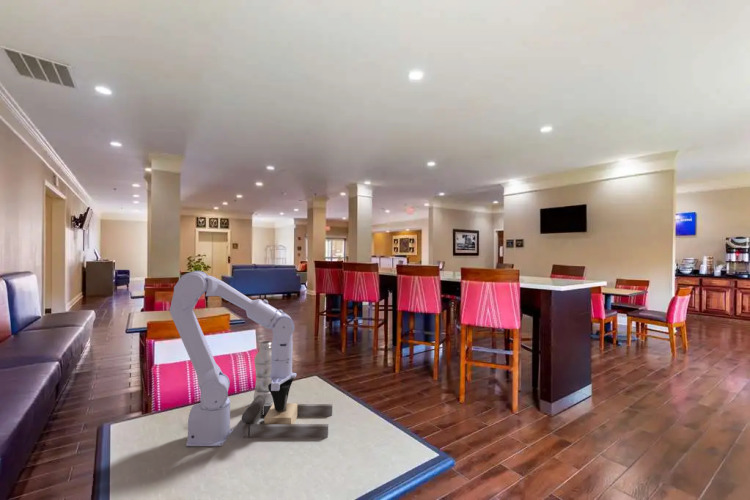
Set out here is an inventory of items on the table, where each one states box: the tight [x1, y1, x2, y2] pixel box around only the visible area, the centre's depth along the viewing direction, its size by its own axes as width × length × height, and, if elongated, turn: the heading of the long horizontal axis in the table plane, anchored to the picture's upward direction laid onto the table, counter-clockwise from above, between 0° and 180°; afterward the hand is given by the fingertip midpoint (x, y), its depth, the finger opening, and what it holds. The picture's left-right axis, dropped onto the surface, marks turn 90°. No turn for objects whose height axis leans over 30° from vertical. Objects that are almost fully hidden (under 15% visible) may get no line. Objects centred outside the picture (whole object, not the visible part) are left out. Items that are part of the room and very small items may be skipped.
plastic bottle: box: [253, 340, 274, 406], centre depth 112 cm, size 6×7×20 cm
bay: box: [241, 395, 333, 439], centre depth 96 cm, size 23×14×7 cm, turn 92°
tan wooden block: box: [263, 395, 298, 424], centre depth 96 cm, size 7×9×8 cm
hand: (280, 407), depth 96 cm, fingers closed on tan wooden block, 3 cm apart
